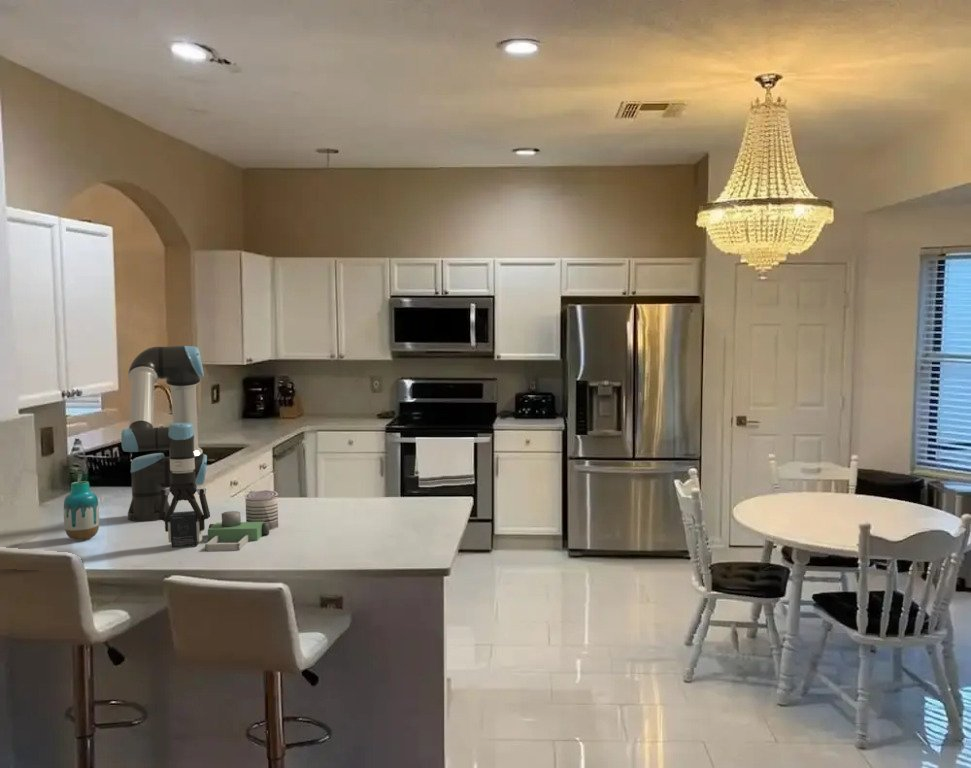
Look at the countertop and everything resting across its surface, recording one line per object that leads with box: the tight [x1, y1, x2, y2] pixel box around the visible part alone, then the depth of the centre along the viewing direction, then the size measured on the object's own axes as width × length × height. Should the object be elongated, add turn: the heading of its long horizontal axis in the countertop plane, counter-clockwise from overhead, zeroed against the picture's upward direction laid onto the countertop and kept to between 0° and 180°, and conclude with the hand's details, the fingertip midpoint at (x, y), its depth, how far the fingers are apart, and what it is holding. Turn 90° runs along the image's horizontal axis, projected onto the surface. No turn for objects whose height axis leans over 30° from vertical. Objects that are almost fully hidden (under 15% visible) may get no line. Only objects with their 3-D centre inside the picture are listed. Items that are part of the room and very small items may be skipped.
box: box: [170, 510, 200, 549], centre depth 269 cm, size 8×6×11 cm
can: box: [244, 489, 279, 531], centre depth 293 cm, size 11×11×12 cm
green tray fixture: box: [204, 510, 271, 552], centre depth 273 cm, size 19×22×8 cm
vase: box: [63, 481, 100, 541], centre depth 280 cm, size 11×11×19 cm
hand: (185, 540), depth 270 cm, fingers closed on box, 8 cm apart
